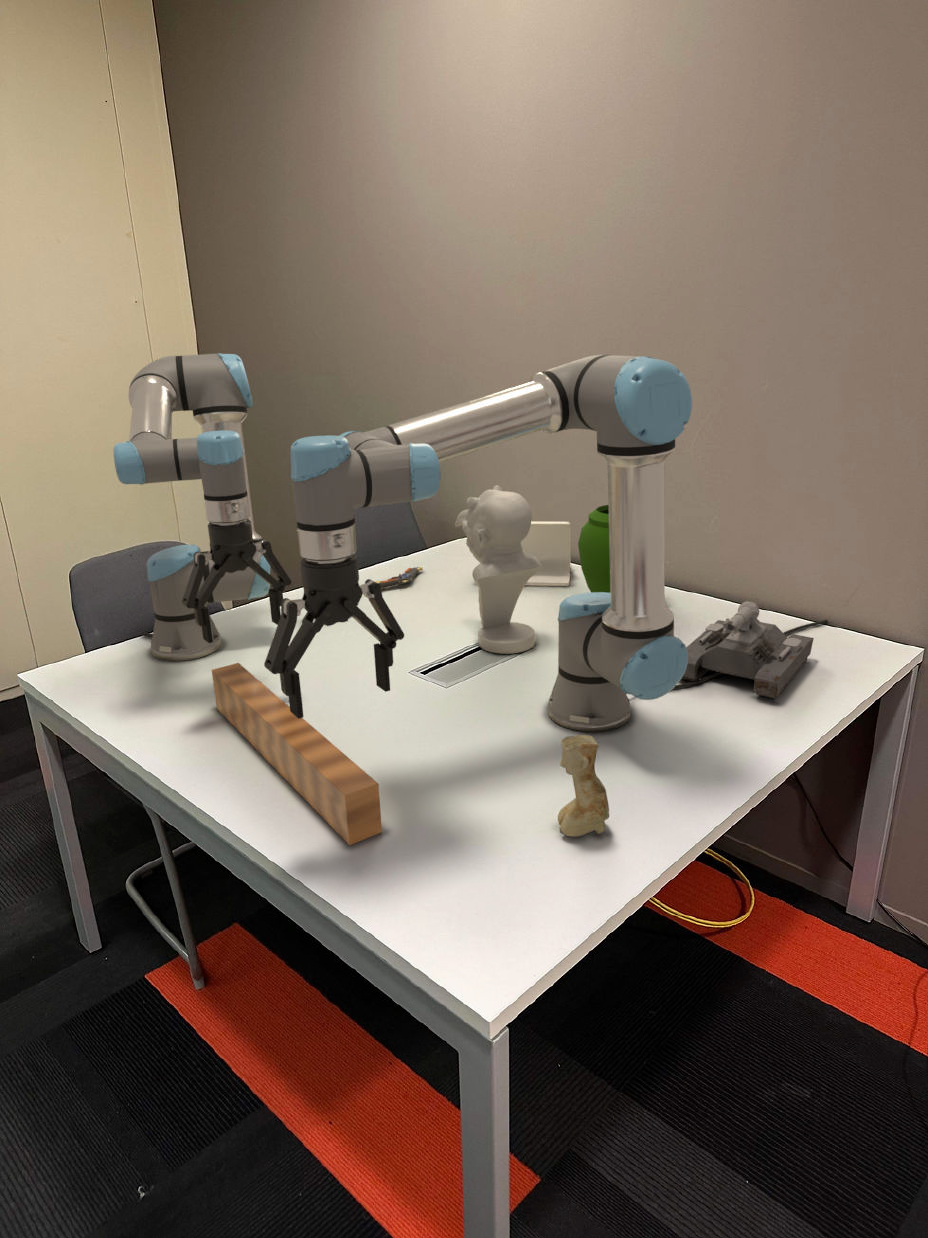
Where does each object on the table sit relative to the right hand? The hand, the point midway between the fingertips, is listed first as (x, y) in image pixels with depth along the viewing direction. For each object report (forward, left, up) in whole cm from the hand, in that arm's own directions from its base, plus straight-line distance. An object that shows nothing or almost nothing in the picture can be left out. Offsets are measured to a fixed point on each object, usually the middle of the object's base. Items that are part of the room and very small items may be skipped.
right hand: (341, 701), depth 120 cm
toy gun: (-75, -90, -21) cm, 119 cm away
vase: (-102, -35, -21) cm, 110 cm away
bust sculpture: (-65, -39, -21) cm, 78 cm away
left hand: (-8, -46, -4) cm, 46 cm away
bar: (-2, -23, -21) cm, 31 cm away
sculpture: (-24, +24, -21) cm, 40 cm away
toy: (-90, +9, -21) cm, 93 cm away
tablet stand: (-104, -68, -21) cm, 126 cm away
